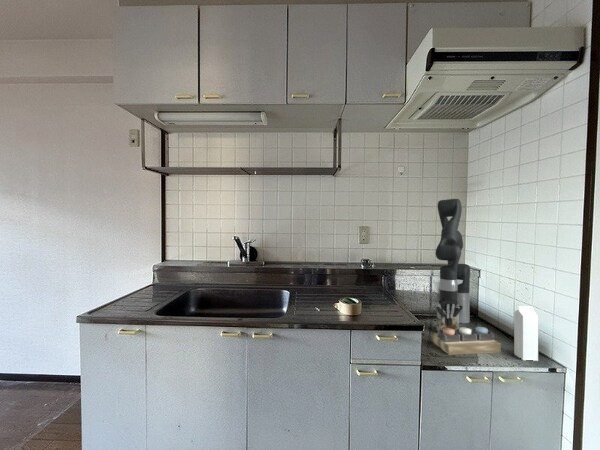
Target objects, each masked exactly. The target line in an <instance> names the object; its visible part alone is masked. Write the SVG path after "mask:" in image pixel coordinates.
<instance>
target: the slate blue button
mask: <svg viewBox="0 0 600 450" xmlns="http://www.w3.org/2000/svg"><path fill="white" fill-rule="evenodd" d="M474 329H475V331H476V332H477V333H479V334H488V331H489V330H488V328H487V327H483V326H475V327H474Z"/></svg>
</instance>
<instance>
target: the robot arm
mask: <svg viewBox="0 0 600 450" xmlns="http://www.w3.org/2000/svg"><path fill="white" fill-rule="evenodd" d="M462 212H463V211H462V202H461V199H460V198H450V199H449V198H448V199H441V200H438V201H437V213H438V216H439V220H440V225H441V235H440V241H439V244H438V245H437V247H436V248H435V253H434V254H435V258H437V260H439V261H447V264H446V265H441V266H440V269H439V281H438V282H439V285H438V286H439V289H438V290H439V291H438V292H439V300H440V301H439V304H438V305H437V304H436V305H434V308H435V310H436V312H437V311H438V313H439V314H440V315H441V316H443V317H445V324H446V326H451V325H452V318H453V317H456V316H457V315H458V314H459V324H469V323H471V322H470V321H471V320H470V313H471V312H470V311H471V310H470V306H471V305H470V285H471V284H470V283H471V282H470V280H471V267H470V265H469V264H466V263H464V264H463V263H459V262H460V259H461V257H462V251H463V248H464V241H463V236H462V234H461V232H460V231H459V225H460V223H461V222H460V221H461V215H462ZM448 217H449V218H450V219H449V218H448ZM458 281H462V282H461V283H458ZM441 307H442V309H443V311H442V310H441ZM455 307H456V308H455ZM443 312H444V313H443Z"/></svg>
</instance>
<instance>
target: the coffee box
mask: <svg viewBox="0 0 600 450" xmlns="http://www.w3.org/2000/svg"><path fill="white" fill-rule="evenodd" d="M439 301H440V299H437V300H436V306H437V305H438V304H439ZM455 308H456V307H455ZM441 310H442V311H443V309H442V307H441ZM443 313H444V312H443ZM443 328H451V329H453V330H457V329H459V328H460V323H459V314H458V315H457V316H456V317H453V318H452V325H451V326H446V324H445V317H443V316H441V315H440V314H439V313H438V311H437V310H436V331H437V332H438V330H443Z"/></svg>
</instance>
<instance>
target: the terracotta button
mask: <svg viewBox="0 0 600 450" xmlns="http://www.w3.org/2000/svg"><path fill="white" fill-rule="evenodd" d="M443 334H445V335H455V330H453V329H451V328H443Z"/></svg>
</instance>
